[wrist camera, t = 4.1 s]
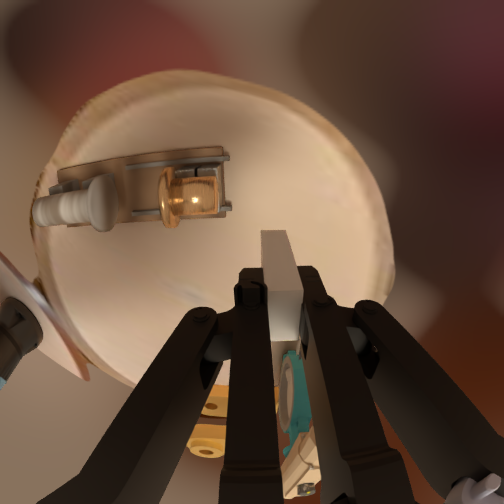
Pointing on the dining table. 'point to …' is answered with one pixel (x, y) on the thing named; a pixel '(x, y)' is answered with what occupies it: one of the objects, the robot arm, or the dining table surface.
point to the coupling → (189, 192)
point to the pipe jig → (119, 190)
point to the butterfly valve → (297, 430)
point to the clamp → (213, 436)
